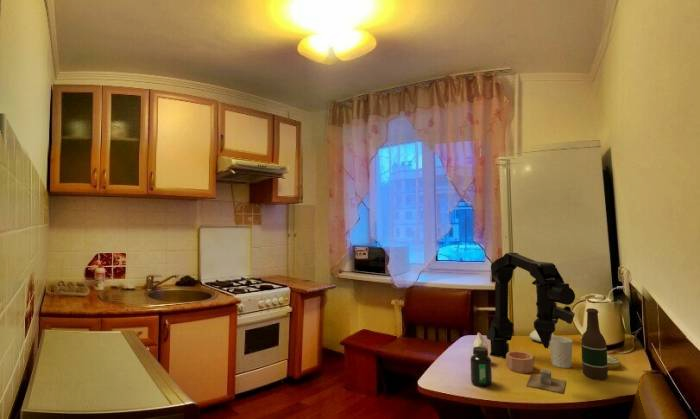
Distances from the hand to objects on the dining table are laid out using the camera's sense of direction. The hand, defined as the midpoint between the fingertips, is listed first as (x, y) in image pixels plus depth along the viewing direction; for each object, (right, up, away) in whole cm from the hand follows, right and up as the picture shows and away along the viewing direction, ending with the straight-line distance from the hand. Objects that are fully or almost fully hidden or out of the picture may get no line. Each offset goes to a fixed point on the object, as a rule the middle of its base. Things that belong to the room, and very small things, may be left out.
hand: (547, 344), depth 131 cm
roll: (-17, -15, +19) cm, 29 cm away
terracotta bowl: (-4, -14, +13) cm, 19 cm away
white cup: (+14, -14, +15) cm, 25 cm away
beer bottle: (+19, -13, +4) cm, 24 cm away
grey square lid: (-1, -14, -1) cm, 14 cm away
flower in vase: (+22, -15, +44) cm, 51 cm away
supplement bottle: (-23, -14, 0) cm, 27 cm away
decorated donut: (+30, -14, +14) cm, 36 cm away
